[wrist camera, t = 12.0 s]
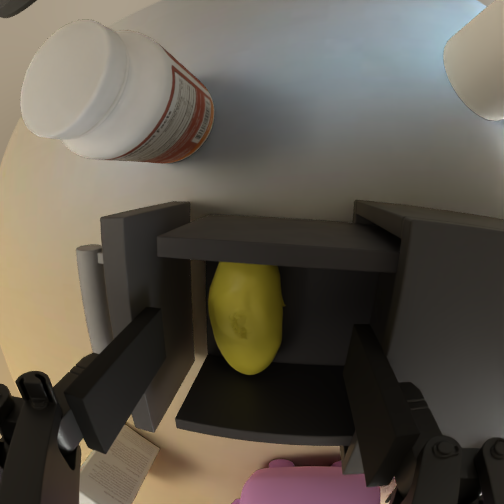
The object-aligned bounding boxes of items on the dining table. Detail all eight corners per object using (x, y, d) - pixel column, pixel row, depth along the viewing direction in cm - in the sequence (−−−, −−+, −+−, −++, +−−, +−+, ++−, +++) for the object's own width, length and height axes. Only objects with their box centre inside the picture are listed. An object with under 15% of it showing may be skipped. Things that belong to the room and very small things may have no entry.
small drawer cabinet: (330, 373, 21) (342, 475, 11) (354, 199, 18) (411, 219, 8) (483, 365, 19) (534, 433, 9) (520, 222, 16) (605, 251, 6)
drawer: (130, 348, 22) (76, 406, 14) (116, 201, 19) (34, 216, 11) (363, 374, 19) (384, 454, 12) (391, 213, 17) (453, 238, 9)
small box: (135, 466, 28) (101, 526, 18) (98, 440, 28) (58, 496, 17) (162, 448, 26) (124, 521, 15) (119, 417, 25) (70, 486, 15)
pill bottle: (122, 105, 18) (4, 69, 7) (197, 61, 17) (109, -25, 6) (149, 180, 19) (23, 189, 8) (231, 139, 18) (151, 91, 7)
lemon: (292, 236, 17) (291, 252, 13) (280, 358, 19) (275, 396, 15) (218, 230, 17) (196, 244, 13) (216, 350, 19) (199, 386, 15)
